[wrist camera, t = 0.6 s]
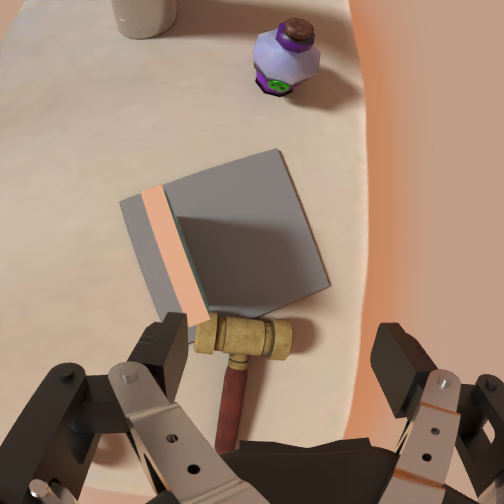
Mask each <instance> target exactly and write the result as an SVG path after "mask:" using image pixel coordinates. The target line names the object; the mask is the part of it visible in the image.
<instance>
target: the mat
mask: <svg viewBox="0 0 504 504" xmlns="http://www.w3.org/2000/svg"><path fill="white" fill-rule="evenodd" d="M162 186H163V189H164V190H166V192H167V194H168V196H169V199H170V201H171V204H172V206H173V208H174V211H175V213H176V215H177V217H178V220H179V223H180V226H181V229H182V232H183V234H184V237H185V240H186V243H187V245H188V248H189V251H190V254H191V256H192V259H193V262H194V265H195V267H196V270H197V273H198V275H199V278H200V281H201V283H202V286H203V288H204V291H205V294H206V296H207V301H208V305H209V309H210V311H211V312H217V317H223V318H225V317H226V316H227V317H236V318H244V319H253V318H255V317H258V316H260V315H263V314H265V313H268V312H270V311H273V310H275V309H277V308H280V307H282V306H285V305H287V304H289V303H292V302H294V301H296V300H299V299H301V298H303V297H306V296H308V295H310V294H313V293H315V292H317V291H319V290H322V289H324V288H326V287H328V286H329V284H328V281H327V278H326V275H325V272H324V269H323V266H322V263H321V261H320V258H319V255H318V252H317V249H316V247H315V244H314V241H313V238H312V236H311V233H310V230H309V228H308V225H307V222H306V220H305V217H304V214H303V212H302V209H301V206H300V204H299V201H298V199H297V196H296V194H295V191H294V188H293V186H292V183H291V181H290V178H289V176H288V173H287V171H286V169H285V166H284V164H283V161H282V159H281V156H280V154H279V152H278V149H277V148H276V149H273V150H269V151H266V152H262V153H259V154H255V155H252V156H248V157H245V158H242V159H239V160H235V161H232V162H229V163H226V164H223V165H219V166H216V167H213V168H210V169H207V170H204V171H201V172H198V173H195V174H192V175H189V176H187V177H184V178H181V179H178V180H175V181H172V182H170V183H167V184H164V185H162ZM119 203H120V207H121V210H122V213H123V217H124V220H125V223H126V226H127V229H128V233H129V236H130V239H131V242H132V245H133V248H134V251H135V254H136V257H137V259H138V262H139V265H140V268H141V271H142V274H143V276H144V279H145V282H146V285H147V287H148V290H149V292H150V295H151V298H152V300H153V303H154V305H155V308H156V311H157V313H158V316H159V318H160V320H161V323H162V322H163V320H164V318H165V316H166V314H167V313H168V312H179V313H183V311H182V309H181V306H180V304H179V301H178V299H177V296H176V293H175V291H174V288H173V286H172V283H171V280H170V278H169V275H168V272H167V269H166V267H165V264H164V261H163V258H162V256H161V253H160V250H159V247H158V244H157V241H156V238H155V236H154V233H153V230H152V227H151V224H150V221H149V218H148V215H147V211H146V208H145V205H144V202H143V199H142V196H141V193H140V194H138V195H135V196H132V197H130V198H127V199H125V200H122V201H120V202H119ZM195 331H196V325H194V326H191V327H189V326H188V343H190V342H193V341H195Z"/></svg>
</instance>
